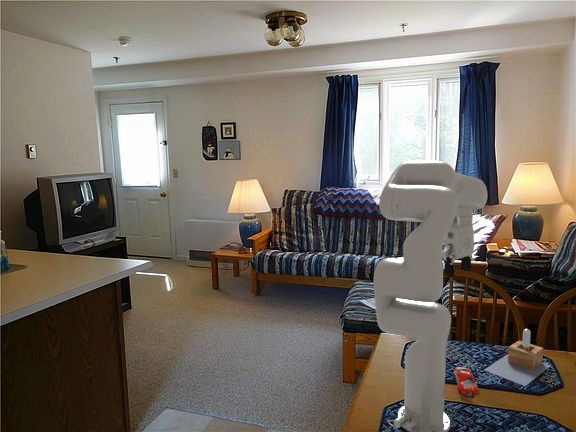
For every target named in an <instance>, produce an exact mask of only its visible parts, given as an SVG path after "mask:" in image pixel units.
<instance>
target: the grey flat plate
mask: <svg viewBox="0 0 576 432" xmlns="http://www.w3.org/2000/svg"><path fill="white" fill-rule="evenodd" d="M551 366H552V365H551V364H549V363H545V362H543V361H542V364H540V365H539V366H538V367H536V368H535V369H534V370H529V369H526V368H523V367H521V366H518V365H515V364H512V363H509V362H508V354H506V355H504V356H502V357H501V358H500V359H498V360H497V361H495V362H494V363H492V364H490V365H489V366H488V367H485V369H484V371H485V372H487V373H491V374H493V375H496V376H498V377H501V378H504V379H506V380H508V381H509V382H513V383H515V384H517V385H518V384H519V385H520V386H523V387H526V386H527V385H529V384H530V383H531V382H533V381H534V380H535V379H536V378H538V377H539V376H540V375H541V374H543V373H544V372H545V371H547V370H548V369H549V368H550V367H551Z"/></svg>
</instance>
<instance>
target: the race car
mask: <svg viewBox="0 0 576 432" xmlns="http://www.w3.org/2000/svg"><path fill="white" fill-rule="evenodd" d="M453 374H454V378H455V381H456V384H457V391H458V394H459V395H461V396H462V397H466V398H475V395H478V394H479V393H480V390H479V387H478V384H477V383H478V380H476V379H475V378H474V375H473V373H472V371H471V369H470V368H468V367H465V366H464V367H463V366H456V367H455V368H454V370H453Z"/></svg>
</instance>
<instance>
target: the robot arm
mask: <svg viewBox="0 0 576 432" xmlns="http://www.w3.org/2000/svg"><path fill="white" fill-rule="evenodd" d="M487 201H488V189H487V185H486V184H485V183H484V181H483V180H482V179H480V178H477V177H474V176H470V175H465V174H462V173H457V172H456V170H455V169H454V168H453V167H452V166H451V165H450V164H449V163H448V162H445V161H441V160H408V161H407V160H406V161H404V162H401V163H400V164H399V165H398V166H397V167H396V168H395V169H394V171H393V172H392V173H391V175H390V177H389V179H388V180H387V182H386V183H385V185H384V187H383V188H382V191H381V193H380V196H379V202H378V204H379V205H378V206H379V207H378V208H379V211H380V213H381V215H382V216H383V217H384V218H385V219H387V220H388V221H389V220H390V221H399V222H415V223H420V224H419V225H418V226H417V227H415V229H414V230H412V231H411V232H410V233H409V235H408V236H407V237H406V238H405V240H404V241H403V244H402V253H403V254H402V255H403V258H395V257H393V258H392V257H391V258H390V257H389V258H387V257H386V258H383V259H381V260H380V261H379V262H378V263H377V265H376V267H375V269H374V271H373V272H374V273H373V294H374V302H375V303H374V304H375V313H376V322H377V324H378V327H379V329H380V330H381V331H382V332H384V333H386V334H390V335H393V336H394V335H395V336H400V337H405V338H409V339H413V340H415V341H414V342H413V343H412V344H411V345H410V346H409V347H408V348H407V350H406V352H405V355H404V397H403V398H404V401H403V402H404V405H403V406H402V407H401V408H400V409H399V410H398V412H397V418H395V419H394V420H393V425H394V427H395V428H396V429H399V428H401V427H402V428H403V429H404V430H406V431H407V432H449V431H450V428H451V419H450V417H449V416H448V415H447V414H446V413H445V392H446V391H445V390H446V389H445V385H446V384H445V383H446V359H447V345H448V339H449V334H450V330H451V323H452V315H451V313H450V310H449V309H448V308H447V307H446V306H445V305H443V304H441V303H438V302H437V301H439V299H440V298H441V296H442V294H443V288H444V276H445V277H450V278H455V273H456V272H455V270H456V269H455V267H456V266H455V265H456V264H454V263H455V261H456V259H460V270H461V271H464V272H465V271H467V272H471V270H472V258H473V254H474V252H475V239H474V237H475V236H474V234H475V233H474V227H473V226H474V225H473V215H474V214H473V213H474V210H480V209H483V208H484V207H485V205H486V204H487ZM443 247H444V249H443ZM443 265H444V267H443ZM443 268H444V269H443ZM443 271H444V272H443Z"/></svg>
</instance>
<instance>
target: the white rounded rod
mask: <svg viewBox="0 0 576 432" xmlns="http://www.w3.org/2000/svg"><path fill="white" fill-rule="evenodd" d="M531 332H532V331H531V330H530V329H528V328H525V329H523V331H522V341H523V343H522V349H523V350H526V351H529V350H530V344H531Z"/></svg>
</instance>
